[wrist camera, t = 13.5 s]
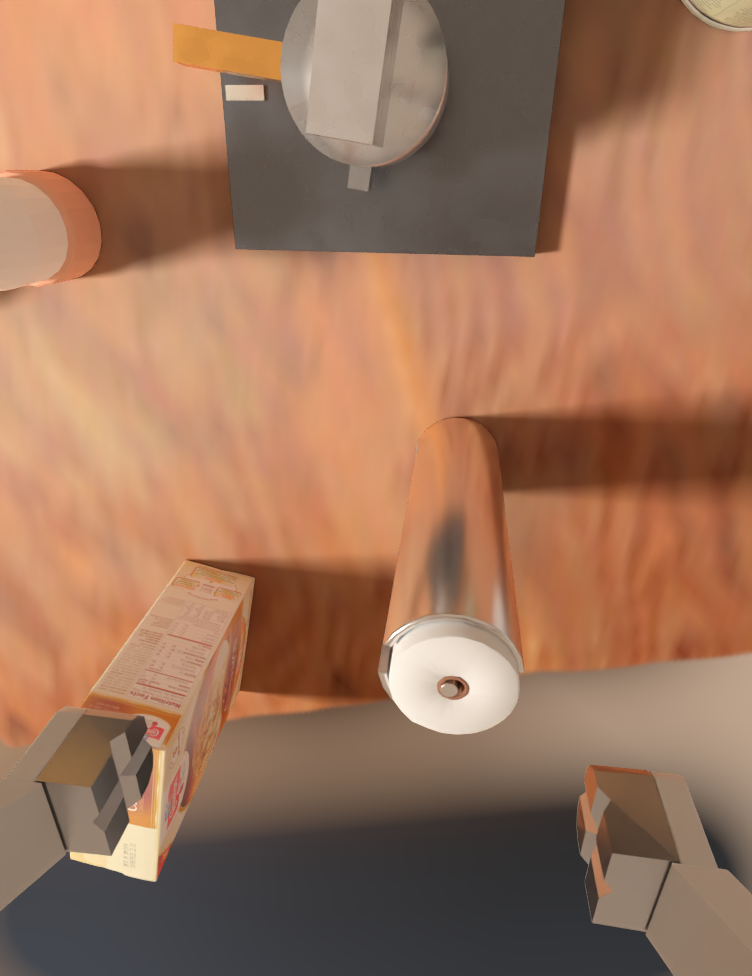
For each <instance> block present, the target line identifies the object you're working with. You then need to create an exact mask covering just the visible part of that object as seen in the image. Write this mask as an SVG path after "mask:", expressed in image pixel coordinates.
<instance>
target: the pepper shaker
mask: <svg viewBox="0 0 752 976" xmlns="http://www.w3.org/2000/svg"><path fill="white" fill-rule="evenodd" d="M101 243H102V238H101V228H100V223H99V220H98V217H97V215H96V212H95V210H94V207H93V206H92V204H91V203H90V201H89V200H88V198H87V197H86V195H85V194H84V193H83V191H82V190H80V189H79V188H78V187H77V186H76V185H75V184H74V183H72V182H71V181H70V180H69V179H67V178H65V177H62V176H60V175H58V174H56V173H54V172H46V171H34V170H6V171H3V172H0V291H7V290H11V289H15V288H19V287H22V286H26V285H30V286H38V287H43V286H47V285H51V284H55V283H59V282H63V281H66V280H70V279H74V278H78V277H81V276H82V275H84V274H85V273H87V272H88V271H89V270H91V269H92V267H93V266H94V264H95V262H96V261H97V259H98V257H99V253H100V248H101Z"/></svg>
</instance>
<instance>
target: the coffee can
mask: <svg viewBox="0 0 752 976" xmlns="http://www.w3.org/2000/svg"><path fill="white" fill-rule="evenodd" d="M681 1H682V2H683V4H684V5H685V6H686V8H687V9H688V10H689V11H690V12H691V13H692V14H694V15H695V16H696V17H697V18H699V19H700V20H701V21H703V22H705V23H706V24H708V25H710V26H712V27H715V28H718V29H723V30H728V31H734V32H743V31H752V0H681Z"/></svg>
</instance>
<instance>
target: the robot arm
mask: <svg viewBox="0 0 752 976" xmlns="http://www.w3.org/2000/svg"><path fill="white" fill-rule="evenodd" d="M147 730H148V728H147V725H146V721H145V717H144V716H139V715H132V714H125V713H118V712H111V711H104V710H97V709H88V708H80V707H73V706H65V707H63V708H62V709H60V710H59V711H57V712H56V713H55V715H54V716H53V717H52V719H51V720H50V721H49V723H48V724H47V725H46V726H45V728H44V729H43V730H42V732H41V733H40V734H39V736H38V737H37V738H36V740H35V741H34V742H33V743H32V745H31V746H30V747H29V749H28V750H27V751H26V753H25V754H24V755H23V757H22V758H21V759H20V760H19V762H18V763H17V764H16V766H15V767H14V768H13V770H12V771H11V772H10V773H9V775H8V776H7V777H6V778H0V911H1V910H2V909H3V908H4V907H5V906H7V905H8V904H9V903H10V902H11V901H12V900H13V899H15V898H16V897H17V896H18V895H19V894H21V893H22V892H23V891H24V890H25V889H26V888H27V887H29V886H30V885H31V884H32V883H33V882H34V881H35V880H37V879H38V878H39V877H40V876H41V875H43V874H44V873H45V872H46V871H47V870H48V869H49V868H50V867H52V866H53V865H54V864H55V863H56V862H57V861H59V860H60V859H61V858H62V857H63V856H64V855H66V852H65V851H69V852H78V853H87V854H97V855H106V856H112V854H113V852H114V850H115V848H116V846H117V844H118V842H119V841H120V839H121V837H122V835H123V833H124V831H125V829H126V827H127V825H128V823H129V822H130V820H129V815H128V808H129V807H131V806H132V805H133V804H135V803H136V802H138V801H139V800H140V799H141V798H142V796H143V794H144V792H145V790H146V788H147V786H148V784H149V781H150V777H151V773H152V770H153V751H152V746H151V745H150V744H149V743H148V742H147V741H146V740H145V739H144V738H143V737H144V735H145V733H146V731H147ZM584 781H585V787H586V792H585V793H584V794H582V795H581V796H580V798H579V803H578V808H577V836H578V844H579V850H580V855H581V856H582V857H583V859H584V860H585V861H586V862H587V863H588V865H589V866H588V870H587V874H586V878H585V886H586V891H587V897H588V902H589V908H590V914H591V920H592V923H597V924H603V925H609V926H615V927H621V928H627V929H633V930H638V931H645V932H646V936H647V937H648V939H649V940H650V942H651V943H652V945H653V946H654V948H655V949H656V950H657V952H658V953H659V955H660V956H661V958H662V959H663V960H664V962H665V963H666V965H667V966H668V968H669V969H670V971H671V972H672V974H673V975H674V976H752V894H751V893H750V892H749V891H748V890H747V889H746V888H745V887H744V886H743V885H742V884H741V883H740V882H739V881H738V880H737V879H736V878H735V877H734V876H733V875H732V874H731V873H730V872H729V871H728V870H724V869H718V867H717V865H716V863H715V859H714V857H713V854H712V851H711V849H710V846H709V844H708V841H707V838H706V835H705V833H704V830H703V827H702V824H701V822H700V819H699V816H698V814H697V811H696V808H695V806H694V803H693V800H692V798H691V795H690V792H689V790H688V787H687V784H686V781H685V780H684V778H683V777H682V776H681V775H679V774H670V773H660V772H652V771H649V772H648V771H647V770H638V769H628V768H618V767H607V766H596V765H589V766H588V768H587V769H586V773H585V777H584Z"/></svg>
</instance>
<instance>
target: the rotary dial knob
mask: <svg viewBox="0 0 752 976" xmlns="http://www.w3.org/2000/svg"><path fill="white" fill-rule="evenodd" d="M173 61H174V62H176V63H179V64H181V65H184V66H187V67H193V68H199V69H204V70H210V71H216V72H221V73H227V74H233V75H238V76H244V77H250V78H256V79H261V80H267V81H273V82H278V83H282V88H283V93H284V97H285V100H286V104H287V107H288V109H289V112H290V114H291V116H292V118H293V120H294V122H295V124H296V125H297V127H298V129H299V130H300V131H301V133H302V134H303V135H304V137H305V138H306V139H307V140H308V141H309V142H310V143H311V144H312V145H313V146H314V147H315V148H316V149H318V150H319V151H320V152H321V153H323V154H324V155H326V156H328V157H329V158H331V159H334V160H336V161H338V162H341V163H345V164H349V165H350V170H349V178H348V186H347V188H351V189H357V190H362V191H368V192H369V191H371V187H372V180H373V173H374V167H384V166H389V165H393V164H396V163H399V162H401V161H403V160H405V159H407V158H409V157H410V156H411V155H413V154H414V153H416V152H417V151H418V150H419V149H420V148H421V147H422V146H423V145H424V144H425V143H426V142H427V141H428V140H429V138H430V137H431V136H432V134H433V132H434V131H435V129H436V128H437V126H438V124H439V122H440V120H441V117H442V114H443V112H444V109H445V105H446V101H447V96H448V88H449V70H448V61H447V54H446V48H445V42H444V38H443V33H442V30H441V27H440V24H439V21H438V19H437V17H436V15H435V13H434V11H433V8H432V7H431V5H430V4H429V2H428V1H427V0H300V2H299V3H298V5H297V6H296V8H295V10H294V12H293V14H292V16H291V18H290V20H289V23H288V26H287V28H286V31H285V35H284V39H283V42H280V41H274V40H268V39H262V38H256V37H251V36H245V35H239V34H233V33H228V32H222V31H216V30H210V29H204V28H199V27H193V26H187V25H181V24H175V23H173Z"/></svg>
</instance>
